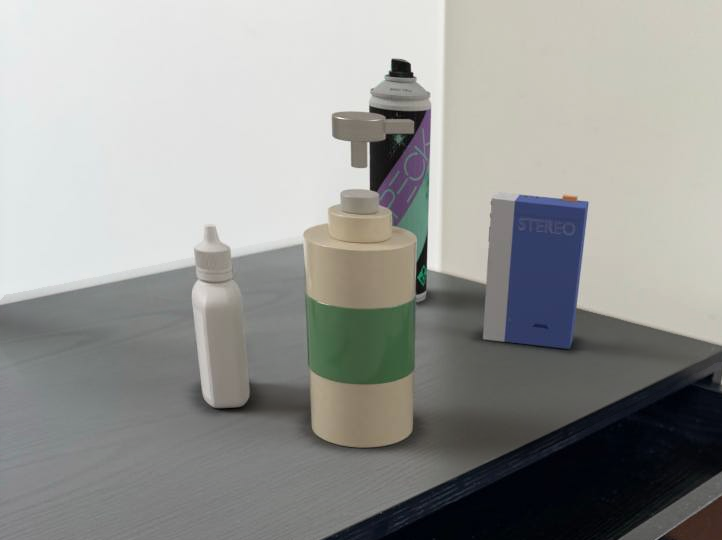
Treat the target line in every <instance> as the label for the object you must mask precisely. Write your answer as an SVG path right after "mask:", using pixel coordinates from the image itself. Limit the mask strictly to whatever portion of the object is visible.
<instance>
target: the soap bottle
mask: <svg viewBox="0 0 722 540" xmlns="http://www.w3.org/2000/svg"><path fill="white" fill-rule="evenodd" d="M339 196H340V197H339V198H340V200H339V202H340V203H339V204H335V205H332V206H329V207H328V209H327V223H322V224H321V223H320V224H317V225H313V226H310V227H309V228H308V227H307V229H305V230H304V231H303V233H302V245H303V266H304V268H303V269H304V306H305V307H304V308H305V326H306V328H305V329H306V351H307V367H308V376H309V379H308V380H309V398H310V421H311V422H310V423H311V430H312V431H313V433H314V435H316V436H317V437H318V438H319V439H322V440H323V441H326V442H328V443H332V444H334V445H337V446H342V447H349V448H362V449H363V448H364V449H365V448H380V447H385V446H390V445H394V444H397V443H399V442H403V440H405V439H407V438H408V437H409V436H410V435H411V434H412V432H413V431H414V398H415V397H414V394H415V368H416V332H417V330H416V329H417V327H416V326H417V302H416V248H417V238H416V236H415V235H414V234H413V233H412V232H410V231H408V230H405V229H403V228H399V227H396V226H392V212H391V210H390V209H388V208H386V207H383V206H379V194H378V193H377V192H375V191H371V190H370V189H363V188H350V189H344V190H342V191H340V193H339Z"/></svg>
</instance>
